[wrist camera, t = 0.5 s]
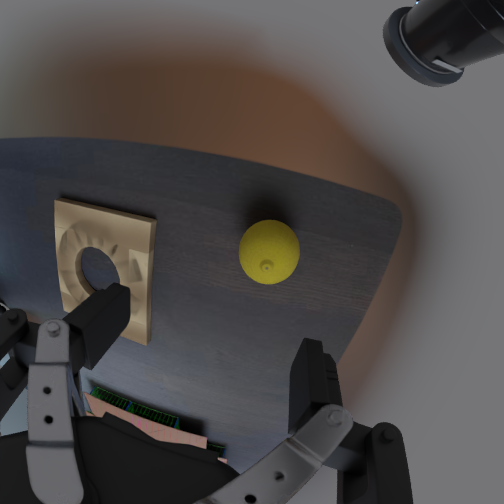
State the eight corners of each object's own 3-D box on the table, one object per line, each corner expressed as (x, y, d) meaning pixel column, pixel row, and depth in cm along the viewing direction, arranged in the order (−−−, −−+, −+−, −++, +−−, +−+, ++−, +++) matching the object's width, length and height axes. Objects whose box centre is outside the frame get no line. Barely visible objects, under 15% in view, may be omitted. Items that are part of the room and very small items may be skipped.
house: (81, 376, 43) (62, 402, 36) (234, 429, 42) (227, 465, 34) (103, 429, 52) (91, 450, 44) (223, 469, 50) (217, 495, 42)
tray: (61, 197, 30) (54, 199, 29) (157, 219, 30) (151, 222, 28) (69, 305, 36) (63, 310, 35) (150, 339, 36) (146, 346, 35)
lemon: (242, 258, 30) (228, 292, 22) (249, 208, 28) (235, 228, 20) (292, 266, 30) (294, 303, 22) (302, 216, 28) (308, 240, 20)
